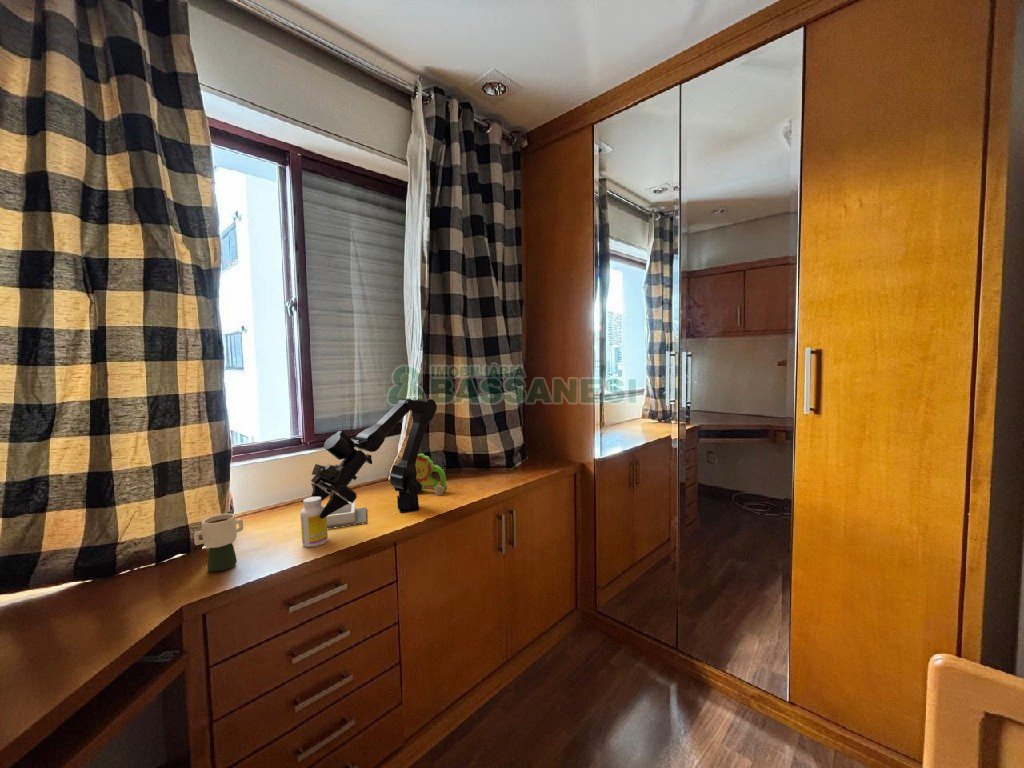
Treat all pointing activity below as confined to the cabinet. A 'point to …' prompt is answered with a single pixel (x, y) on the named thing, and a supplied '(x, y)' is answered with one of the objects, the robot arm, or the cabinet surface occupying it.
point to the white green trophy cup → (219, 540)
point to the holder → (346, 516)
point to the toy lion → (424, 475)
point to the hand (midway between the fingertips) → (313, 514)
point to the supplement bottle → (313, 523)
